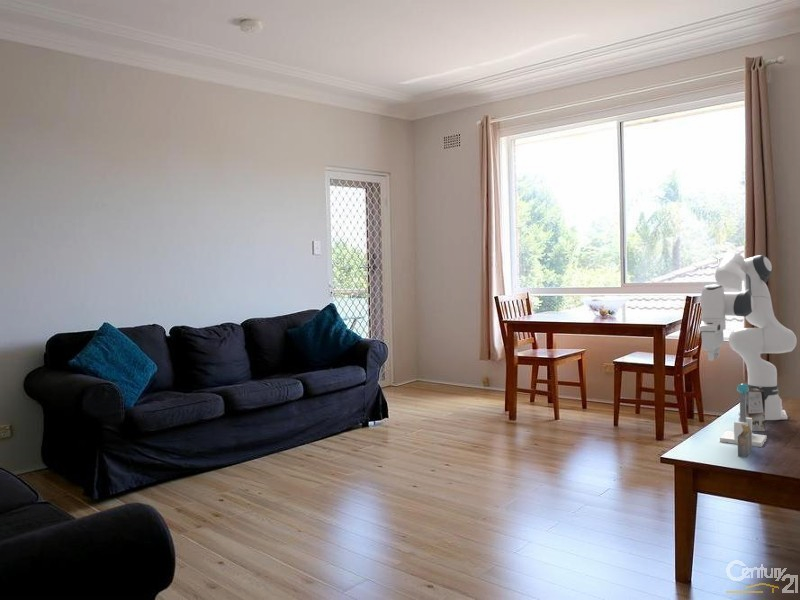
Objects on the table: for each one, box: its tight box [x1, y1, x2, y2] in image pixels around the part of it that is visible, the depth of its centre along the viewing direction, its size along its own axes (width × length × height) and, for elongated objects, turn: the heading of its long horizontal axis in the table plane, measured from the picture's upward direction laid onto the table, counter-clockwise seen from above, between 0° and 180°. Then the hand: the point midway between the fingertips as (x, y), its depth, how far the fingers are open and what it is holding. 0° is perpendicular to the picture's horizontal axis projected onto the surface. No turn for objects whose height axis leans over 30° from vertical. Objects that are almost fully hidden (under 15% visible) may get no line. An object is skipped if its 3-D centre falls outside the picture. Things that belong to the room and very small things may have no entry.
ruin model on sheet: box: [737, 424, 753, 458], centre depth 231 cm, size 11×3×10 cm, turn 143°
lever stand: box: [719, 416, 768, 448], centre depth 246 cm, size 12×14×8 cm
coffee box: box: [746, 388, 766, 432], centre depth 262 cm, size 9×6×16 cm
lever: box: [736, 382, 749, 427], centre depth 246 cm, size 6×4×18 cm
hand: (713, 359), depth 259 cm, fingers open, 7 cm apart
